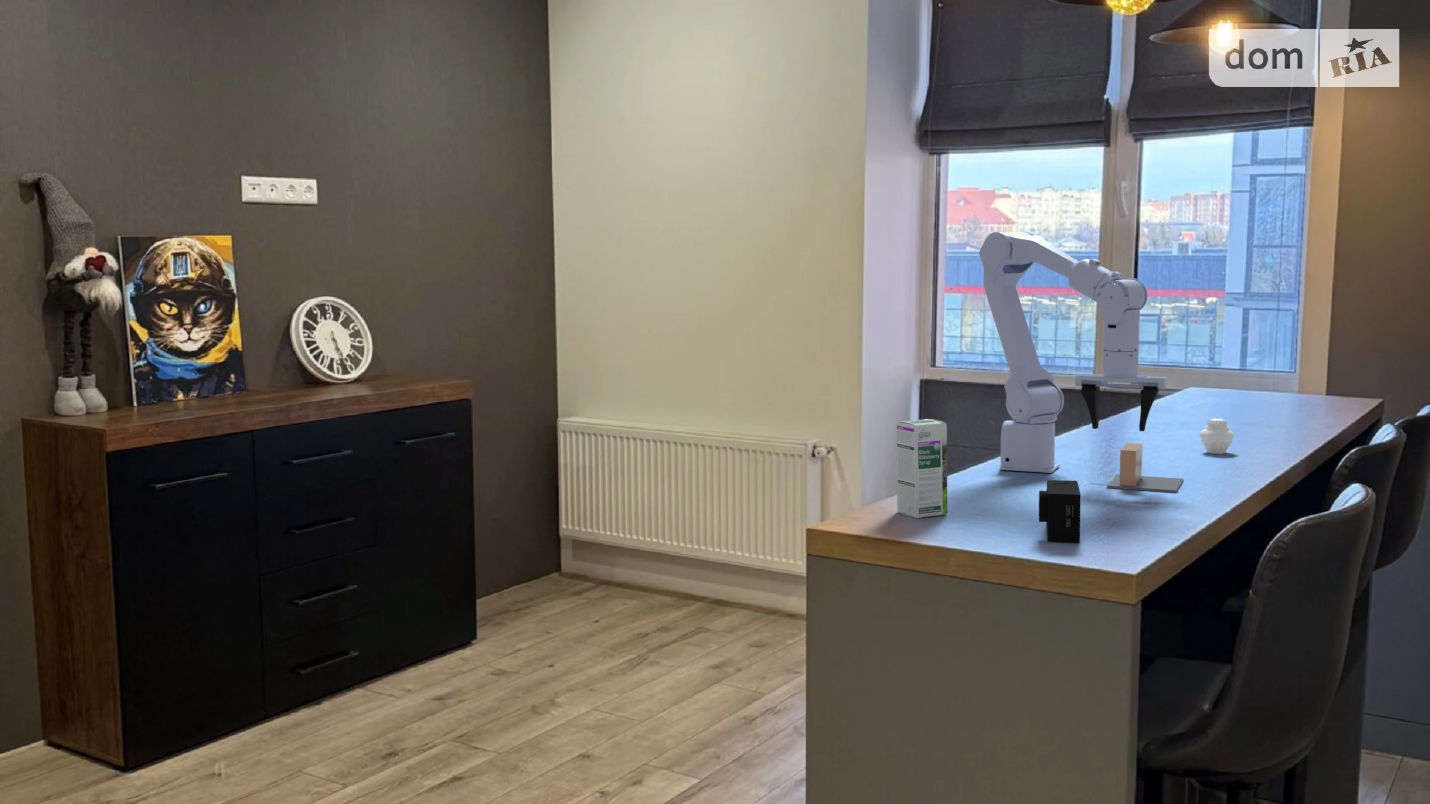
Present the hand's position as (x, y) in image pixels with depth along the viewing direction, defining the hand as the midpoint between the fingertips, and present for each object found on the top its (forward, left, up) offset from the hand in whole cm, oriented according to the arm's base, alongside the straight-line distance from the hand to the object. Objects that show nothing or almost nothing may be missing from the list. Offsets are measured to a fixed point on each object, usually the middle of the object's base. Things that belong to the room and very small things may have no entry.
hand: (1118, 429), depth 204 cm
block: (+2, 0, -9) cm, 9 cm away
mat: (+5, 0, -9) cm, 10 cm away
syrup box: (-24, -36, -10) cm, 44 cm away
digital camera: (-2, -42, -10) cm, 43 cm away
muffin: (+13, +38, -10) cm, 41 cm away
